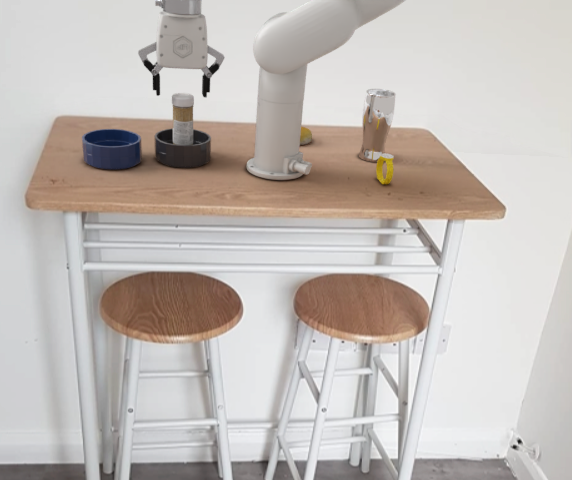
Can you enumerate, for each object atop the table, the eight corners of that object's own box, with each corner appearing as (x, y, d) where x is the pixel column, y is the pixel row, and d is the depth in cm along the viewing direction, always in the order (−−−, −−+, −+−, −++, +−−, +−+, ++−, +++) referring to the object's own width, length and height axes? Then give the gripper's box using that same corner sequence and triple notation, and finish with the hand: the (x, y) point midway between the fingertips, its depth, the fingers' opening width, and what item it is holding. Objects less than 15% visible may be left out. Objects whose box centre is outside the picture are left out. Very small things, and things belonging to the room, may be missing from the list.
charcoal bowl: (221, 160, 157) (222, 137, 154) (183, 172, 148) (183, 149, 145) (182, 146, 162) (182, 124, 160) (143, 158, 154) (142, 135, 151)
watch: (371, 177, 154) (375, 150, 151) (383, 176, 155) (387, 150, 152) (381, 187, 150) (386, 160, 146) (394, 187, 150) (398, 160, 147)
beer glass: (358, 151, 169) (367, 86, 161) (387, 155, 168) (397, 90, 160) (355, 160, 163) (363, 94, 155) (385, 164, 162) (395, 98, 154)
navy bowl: (153, 161, 152) (152, 138, 150) (110, 175, 144) (108, 151, 141) (115, 147, 158) (114, 125, 156) (71, 159, 150) (69, 136, 147)
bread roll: (293, 148, 167) (295, 131, 165) (269, 137, 173) (270, 121, 171) (319, 142, 172) (321, 126, 170) (295, 132, 177) (296, 116, 175)
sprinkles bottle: (180, 152, 158) (179, 90, 150) (197, 156, 156) (198, 94, 149) (168, 157, 154) (167, 95, 147) (185, 162, 152) (185, 99, 145)
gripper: (137, 7, 134) (139, 98, 143) (228, 12, 137) (224, 101, 147) (136, 0, 140) (138, 88, 149) (223, 6, 144) (220, 91, 153)
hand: (181, 94), depth 148 cm, fingers open, 9 cm apart
